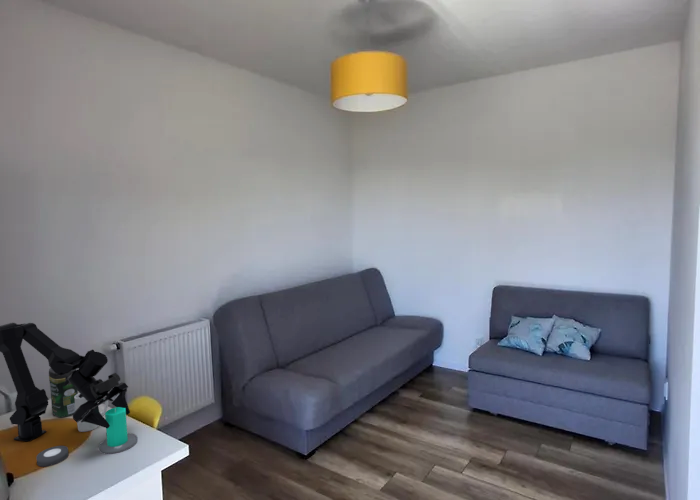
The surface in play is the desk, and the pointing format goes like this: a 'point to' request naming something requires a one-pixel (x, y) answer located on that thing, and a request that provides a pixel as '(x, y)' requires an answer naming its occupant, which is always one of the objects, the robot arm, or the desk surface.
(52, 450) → the dark grey washer
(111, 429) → the candle
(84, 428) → the mug
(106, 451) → the slate coaster
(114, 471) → the desk surface
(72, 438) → the desk surface
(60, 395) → the coffee jar
